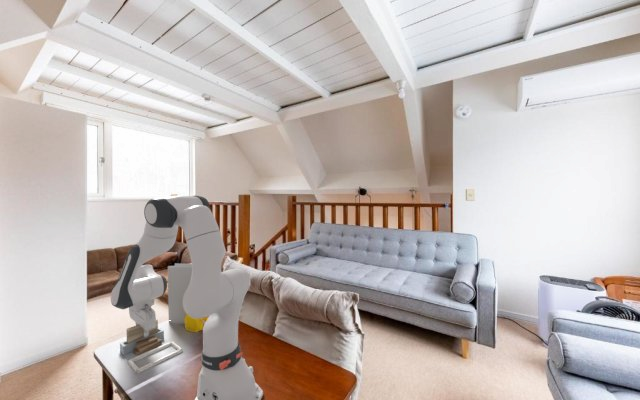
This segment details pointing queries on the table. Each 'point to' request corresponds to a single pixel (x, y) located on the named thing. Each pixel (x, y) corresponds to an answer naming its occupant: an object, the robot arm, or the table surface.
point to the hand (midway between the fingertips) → (142, 333)
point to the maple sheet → (138, 332)
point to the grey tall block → (178, 290)
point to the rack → (128, 348)
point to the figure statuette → (194, 323)
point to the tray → (137, 370)
